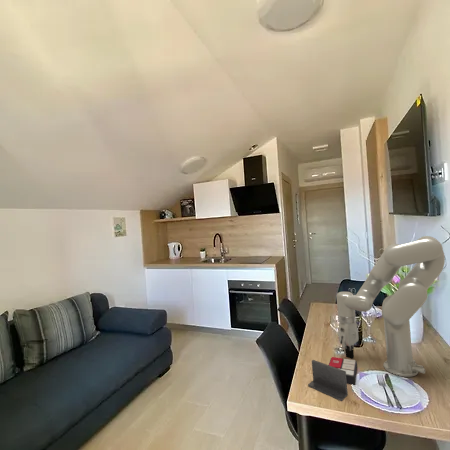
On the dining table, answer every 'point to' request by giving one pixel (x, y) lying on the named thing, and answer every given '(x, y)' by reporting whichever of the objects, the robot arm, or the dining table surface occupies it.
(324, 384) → the bookend
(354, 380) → the red and tan block
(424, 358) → the dining table surface
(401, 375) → the robot arm
